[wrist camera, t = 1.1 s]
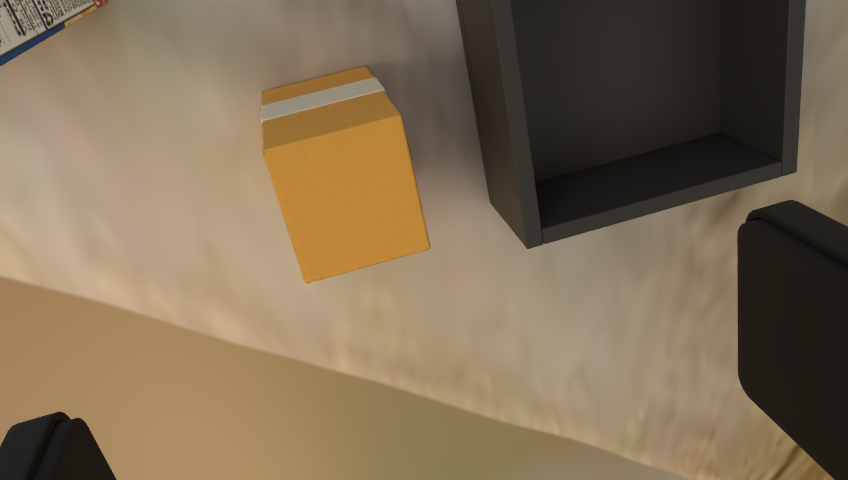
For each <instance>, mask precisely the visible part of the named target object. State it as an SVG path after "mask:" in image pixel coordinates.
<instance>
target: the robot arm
mask: <svg viewBox="0 0 848 480" xmlns="http://www.w3.org/2000/svg"><path fill="white" fill-rule="evenodd" d="M738 375H739V380H740V383H741V385H742V388H743V390H744V391H745V393H746V394H747V396H748V397H749V398H750V399H751V400H752V401H753V402H754V403H755V404H756V405H757V406H758V407H759V408H760V409H761V410H763V411H764V412H765V413H766V414H767V415H768V416H769V417H770V418H771V419H772V420H773V421H774V422H775V423H776V424H777V425H778V426H779V427H780V428H781V429H782V430H783V431H784V432H785V433H787V434H788V435H789V436H790V437H791V438H792V439H793V440H794V441H795V442H796V443H797V444H798V445H799V446H800V447H801V448H802V449H803V450H804V451H805V452H806V453H807V454H808V455H809V456H811V457H812V458H813V459H814V460H815V461H816V462H817V463H818V464H819V465H820V466H821V467H822V468H823V469H824V470H825V471H826V472H827V473H828V474H829V475H830V476H831V477H832V478H834V479H835V480H848V227H847V226H845V225H843V224H841V223H839V222H837V221H835V220H833V219H831V218H829V217H827V216H825V215H823V214H821V213H819V212H817V211H815V210H813V209H811V208H809V207H807V206H805V205H803V204H801V203H799V202H797V201H794V200H788V201H784V202H781V203H777V204H774V205H770V206H767V207H763V208H760V209H756V210H753V211H752V212H750V213H749V214H748V216H747V219H746V223H744V224H742V225H741V226H740V227H739V230H738ZM0 480H116V478H115V476H114V474H113V473H112V470H111V469H110V467H109V465H108V463H107V461H106V459H105V457H104V456H103V454H102V452H101V450H100V448H99V447H98V444H97V443H96V441H95V439H94V437H93V435H92V433H91V431H90V430H89V427H88V426H87V424H86V423H85V422H84V421H83V420H82V419H81V418H75V419H72V420H71V419H70V418H69V417H68V416H67V415H66V414H65V413H63V412H56V413H53V414H50V415H46V416H42V417H39V418H35V419H32V420H28V421H25V422H22V423H18V424H16V425H13V426H12V427H11V428H10V429H9V431H8V433H7V434H6V436H5V438H4V440H3V442H2V444H1V446H0Z"/></svg>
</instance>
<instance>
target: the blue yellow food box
mask: <svg viewBox="0 0 848 480" xmlns="http://www.w3.org/2000/svg"><path fill="white" fill-rule="evenodd" d="M106 3H108V1H107V0H0V66H2V65H3V64H5V63H7V62H8V61H10V60H12V59H13V58H15V57H17V56H18V55H20V54H22V53H23V52H25V51H27V50H28V49H30V48H32V47H34V46H35V45H37V44H39V43H40V42H42V41H44V40H45V39H47V38H49V37H50V36H52V35H54V34H55V33H57V32H59V31H60V30H62V29H64V28H65V27H67V26H69V25H71V24H72V23H74V22H76V21H77V20H79V19H81V18H82V17H84V16H86V15H87V14H89V13H91V12H92V11H94V10H96V9H97V8H99V7H101V6H103V5H104V4H106Z"/></svg>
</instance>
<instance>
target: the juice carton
mask: <svg viewBox="0 0 848 480" xmlns="http://www.w3.org/2000/svg"><path fill="white" fill-rule="evenodd" d="M260 119H261V125H262V136H263V155H264V158H265V161H266V164H267V167H268V170H269V173H270V176H271V179H272V182H273V186H274V189H275V192H276V195H277V198H278V201H279V204H280V207H281V210H282V213H283V217H284V220H285V223H286V226H287V229H288V232H289V235H290V238H291V241H292V244H293V248H294V251H295V254H296V257H297V260H298V263H299V266H300V269H301V272H302V275H303V279H304V282H305V283H310V282H314V281H317V280H321V279H324V278H328V277H331V276H335V275H339V274H342V273H346V272H349V271H353V270H356V269H360V268H364V267H367V266H371V265H374V264H378V263H381V262H385V261H388V260H392V259H396V258H399V257H403V256H406V255H410V254H413V253H417V252H421V251H424V250H428V249H430V243H429V239H428V234H427V230H426V225H425V220H424V216H423V211H422V207H421V202H420V198H419V193H418V188H417V184H416V179H415V175H414V170H413V166H412V161H411V157H410V152H409V147H408V143H407V138H406V134H405V129H404V125H403V120H402V116H401V115H400V113H399V112H398V110H397V109H396V108H395V106H394V105H393V103H392V102H391V101H390V99H389V98H388V96H387V95H386V91H385V89H384V88H383V86H382V85H381V84H380V82H379V81H378V79H377V78H376V77H374V76H373V75H372V74H371V72H370V71H369V69H368V68H367V67H366V66H363V67H359V68H355V69H351V70H347V71H343V72H339V73H335V74H331V75H327V76H323V77H319V78H315V79H311V80H307V81H303V82H299V83H295V84H291V85H287V86H283V87H279V88H275V89H271V90H267V91H263V92H262V106H261V107H260Z"/></svg>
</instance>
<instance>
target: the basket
mask: <svg viewBox="0 0 848 480" xmlns="http://www.w3.org/2000/svg"><path fill="white" fill-rule="evenodd" d="M456 4H457V10H458V16H459V22H460V27H461V33H462V39H463V45H464V51H465V57H466V63H467V69H468V75H469V81H470V87H471V93H472V99H473V105H474V111H475V116H476V122H477V128H478V134H479V140H480V146H481V152H482V158H483V164H484V170H485V176H486V182H487V188H488V194H489V199H490V203H491V204H492V205H493V207H494V208H495V209H496V210H497V212H498V213H499V214H500V215H501V217H502V218H503V219H504V220H505V222H506V223H507V224H508V225H509V227H510V228H511V229H512V230H513V232H514V233H515V234H516V235H517V236H518V238H519V239H520V240H521V241H522V243H523V244H524V245H525V246H526V248H527V249H529V248H533V247H536V246H540V245H543V243H544V244H546V243H550V242H553V241H557V240H560V239H564V238H567V237H571V236H574V235H578V234H581V233H585V232H588V231H592V230H595V229H599V228H602V227H606V226H609V225H613V224H616V223H620V222H623V221H627V220H631V219H634V218H638V217H641V216H645V215H648V214H652V213H655V212H659V211H662V210H666V209H669V208H673V207H676V206H680V205H683V204H687V203H690V202H694V201H697V200H701V199H704V198H708V197H711V196H715V195H718V194H722V193H725V192H729V191H732V190H736V189H739V188H743V187H746V186H750V185H753V184H757V183H760V182H764V181H767V180H771V179H774V178H778V177H781V176H785V175H789V174H792V173H796V171H797V155H798V136H799V118H800V99H801V80H802V62H803V43H804V25H805V6H806V0H456Z"/></svg>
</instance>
